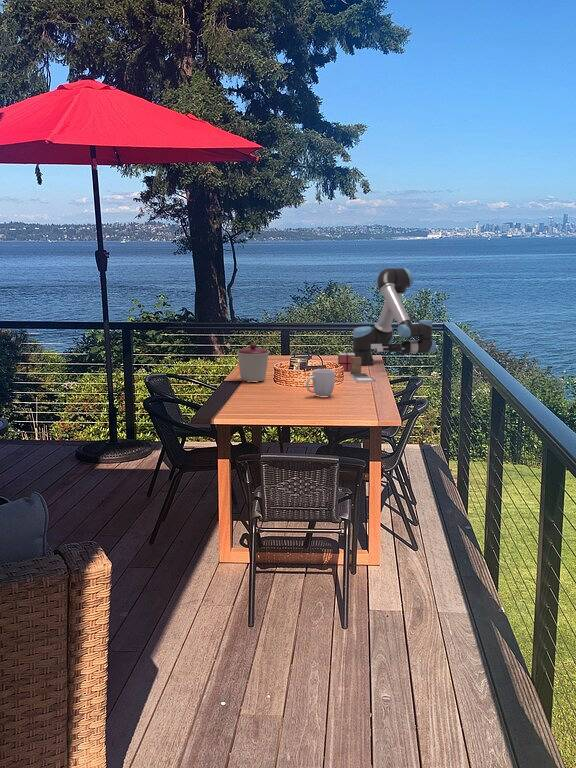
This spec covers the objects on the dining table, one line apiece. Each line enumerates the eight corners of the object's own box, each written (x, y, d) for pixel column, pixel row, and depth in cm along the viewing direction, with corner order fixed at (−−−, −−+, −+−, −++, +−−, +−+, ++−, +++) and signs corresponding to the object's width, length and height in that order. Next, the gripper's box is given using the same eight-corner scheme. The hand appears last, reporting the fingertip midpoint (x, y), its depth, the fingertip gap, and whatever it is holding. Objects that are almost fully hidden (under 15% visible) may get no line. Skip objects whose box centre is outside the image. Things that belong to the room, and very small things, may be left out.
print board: (352, 378, 451) (352, 377, 451) (371, 378, 453) (371, 377, 453) (357, 382, 440) (357, 380, 440) (376, 381, 442) (376, 380, 442)
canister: (268, 384, 432) (268, 345, 429) (235, 383, 433) (234, 345, 429) (270, 378, 450) (270, 341, 446) (238, 378, 451) (238, 341, 447)
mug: (311, 399, 392) (311, 373, 390) (301, 395, 402) (302, 370, 400) (338, 397, 398) (338, 371, 396) (328, 393, 408) (328, 368, 406)
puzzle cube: (355, 371, 475) (355, 355, 473) (338, 371, 475) (338, 355, 474) (354, 369, 485) (354, 352, 483) (337, 369, 485) (338, 352, 483)
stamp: (350, 373, 468) (350, 356, 466) (358, 373, 469) (359, 356, 467) (352, 375, 463) (352, 358, 461) (360, 375, 464) (361, 358, 462)
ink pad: (350, 375, 461) (350, 373, 461) (365, 375, 462) (365, 373, 462) (353, 378, 452) (353, 376, 452) (369, 378, 454) (369, 375, 453)
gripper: (415, 356, 456) (379, 356, 453) (402, 350, 480) (368, 351, 477) (416, 343, 455) (380, 343, 451) (403, 338, 479) (368, 339, 476)
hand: (374, 347), depth 464 cm, fingers open, 13 cm apart
